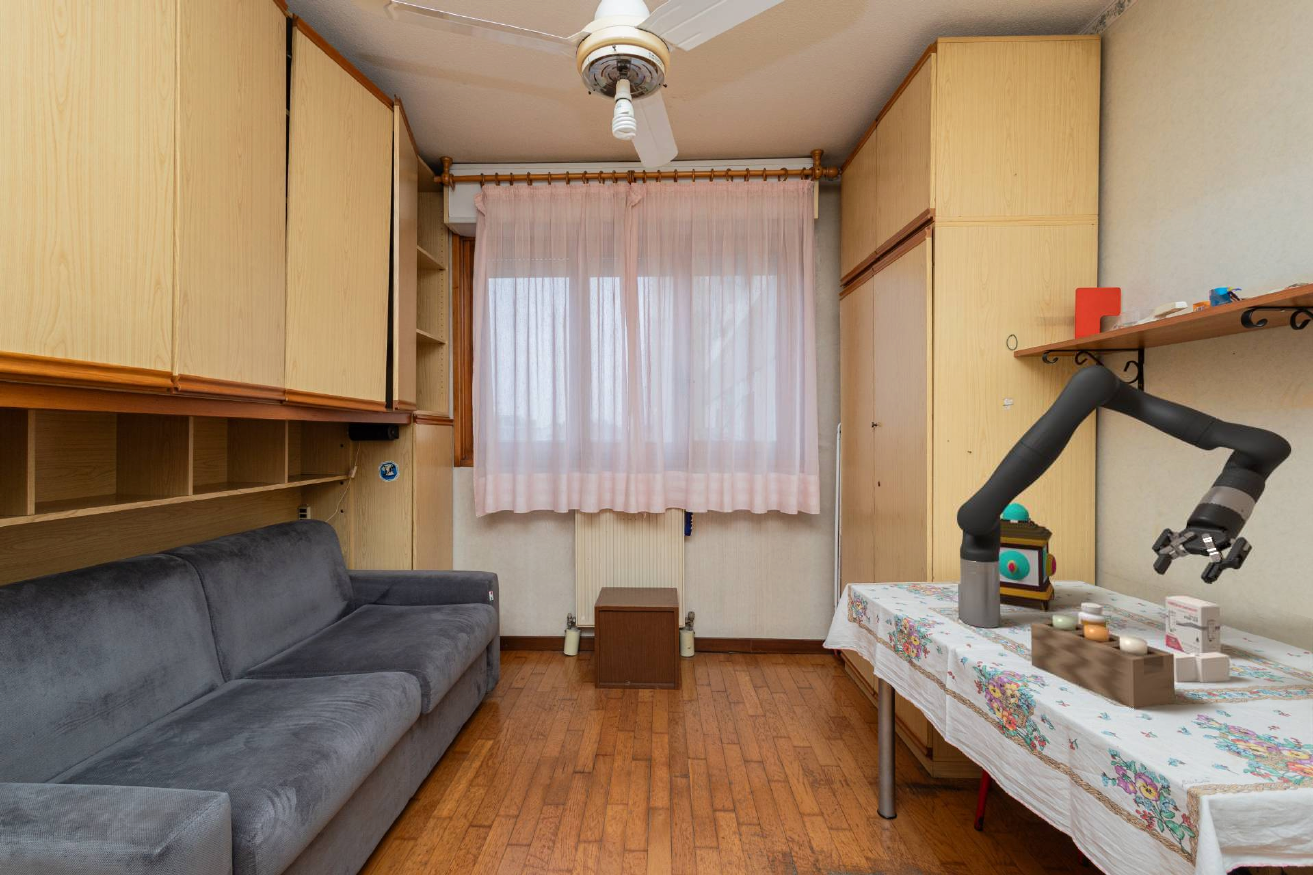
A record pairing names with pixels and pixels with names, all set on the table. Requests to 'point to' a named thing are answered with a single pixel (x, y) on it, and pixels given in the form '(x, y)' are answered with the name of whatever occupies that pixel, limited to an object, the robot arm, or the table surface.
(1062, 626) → the sage egg
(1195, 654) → the white stepped block
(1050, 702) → the table surface
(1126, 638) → the cream egg
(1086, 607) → the supplement bottle
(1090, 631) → the orange egg
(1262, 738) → the table surface
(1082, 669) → the wooden egg holder
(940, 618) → the table surface
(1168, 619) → the ink box
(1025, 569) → the decorative lantern
